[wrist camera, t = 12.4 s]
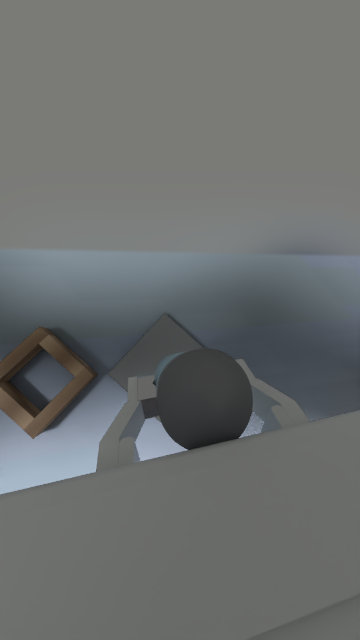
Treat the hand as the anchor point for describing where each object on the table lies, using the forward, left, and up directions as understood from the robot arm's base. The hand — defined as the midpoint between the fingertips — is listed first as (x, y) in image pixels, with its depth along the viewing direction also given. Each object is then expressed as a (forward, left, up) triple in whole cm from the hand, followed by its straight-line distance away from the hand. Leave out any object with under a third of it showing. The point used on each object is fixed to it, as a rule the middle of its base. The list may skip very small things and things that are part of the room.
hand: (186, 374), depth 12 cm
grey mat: (0, 0, -16) cm, 16 cm away
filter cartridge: (+1, 0, -7) cm, 7 cm away
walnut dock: (-11, -11, -16) cm, 22 cm away
